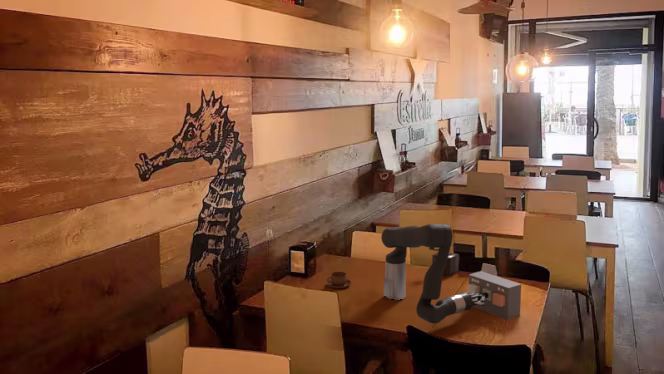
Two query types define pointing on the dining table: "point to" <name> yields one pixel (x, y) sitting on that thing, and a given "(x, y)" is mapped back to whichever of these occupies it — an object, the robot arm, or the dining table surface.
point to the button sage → (488, 293)
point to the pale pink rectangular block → (489, 269)
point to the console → (500, 286)
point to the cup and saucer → (338, 280)
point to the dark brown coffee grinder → (449, 262)
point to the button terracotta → (499, 299)
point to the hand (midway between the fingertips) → (486, 294)
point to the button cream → (473, 288)
